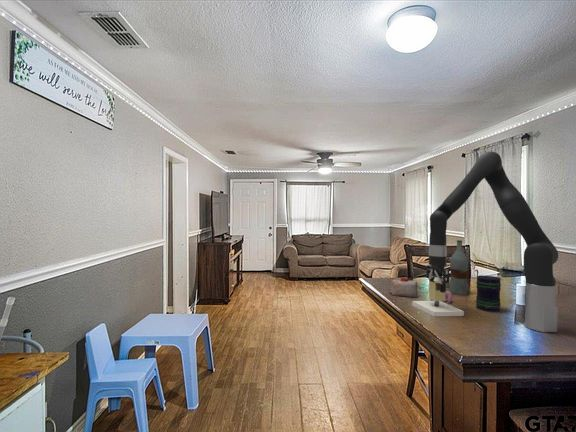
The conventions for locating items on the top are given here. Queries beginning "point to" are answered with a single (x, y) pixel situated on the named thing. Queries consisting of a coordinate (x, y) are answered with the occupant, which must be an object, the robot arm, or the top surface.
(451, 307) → the base board
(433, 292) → the gold rectangular block
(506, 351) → the top surface
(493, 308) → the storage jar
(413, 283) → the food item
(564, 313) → the top surface
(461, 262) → the bottle
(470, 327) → the top surface
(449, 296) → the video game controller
